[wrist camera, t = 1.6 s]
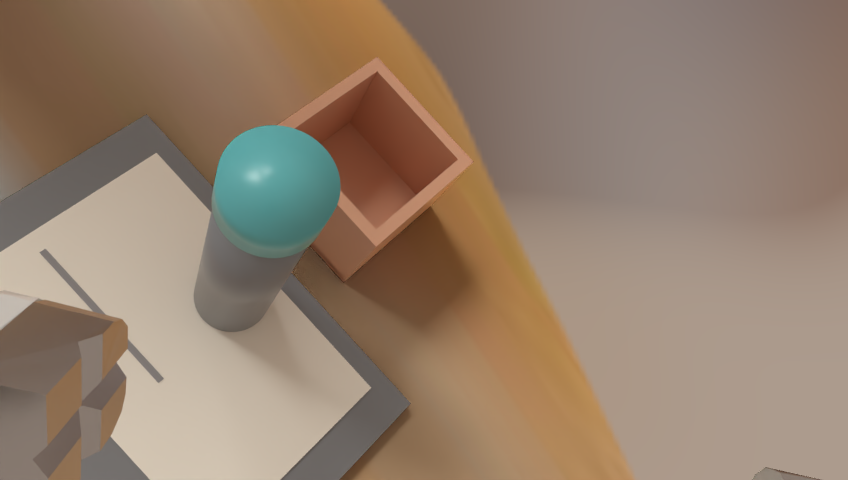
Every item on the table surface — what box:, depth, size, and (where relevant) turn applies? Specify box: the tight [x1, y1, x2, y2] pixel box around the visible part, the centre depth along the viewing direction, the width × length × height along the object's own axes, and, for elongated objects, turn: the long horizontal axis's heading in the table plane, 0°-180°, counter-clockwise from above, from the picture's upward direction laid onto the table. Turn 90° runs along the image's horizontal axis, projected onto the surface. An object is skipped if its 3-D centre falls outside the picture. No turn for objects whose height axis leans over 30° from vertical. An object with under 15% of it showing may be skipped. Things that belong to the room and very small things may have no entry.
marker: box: [194, 125, 341, 332], centre depth 27 cm, size 4×4×14 cm
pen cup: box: [278, 57, 473, 283], centre depth 36 cm, size 7×7×6 cm
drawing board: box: [0, 114, 411, 480], centre depth 32 cm, size 20×13×1 cm, turn 47°
